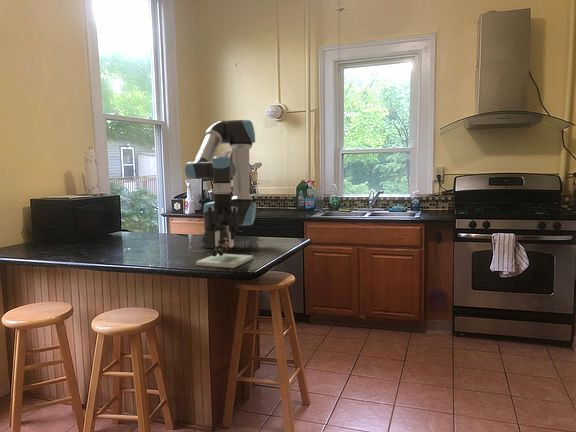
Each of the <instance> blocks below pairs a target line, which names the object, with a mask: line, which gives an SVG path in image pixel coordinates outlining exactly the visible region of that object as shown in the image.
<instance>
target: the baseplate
mask: <svg viewBox="0 0 576 432" xmlns="http://www.w3.org/2000/svg"><path fill="white" fill-rule="evenodd" d="M253 259H254V255H251V254H250V255H248V254H234V253H223V255H222V256H220V255H219V254H218V253H217V255H216V256H215V257H213V256H212V255H210V256H207V257H204V258H202V259H200V260H196V261H195V265H196V266H200V267H201V266H203V267H214V268H215V267H217V268H218V267H219V268H230V269H234V268H237V267H239V266H241V265H243V264H245V263H247V262H250V261H251V260H253Z"/></svg>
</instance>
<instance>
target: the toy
mask: <svg viewBox="0 0 576 432" xmlns="http://www.w3.org/2000/svg"><path fill="white" fill-rule="evenodd" d="M219 243H220V244H221V245H220V246H219V247H217V248H212V252H211V253H212V254H211V256H213V257H215V256H216V255H217V253H218V254H219V255H220V256H222V255H223V254H227V252H231V251H232V249H233V247H229V239H228V238H224V239H222V240H220V241H219Z"/></svg>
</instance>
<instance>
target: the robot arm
mask: <svg viewBox="0 0 576 432" xmlns="http://www.w3.org/2000/svg"><path fill="white" fill-rule="evenodd" d="M254 127H255V126H254V124H253V122H252V121H251V120H248V119H237V120H236V119H234V120H231V119H230V120H221V121H217V122H215V123H213V124H212V125H210V126H209V127H208V128H207V129H206V130H205V133H204V134H203V137H202V138H203V140H202V143H201V145H200V147H199V149H198V151H197V154H196V156H195V158H194V160H193V161H189V162H186V164H185V166H184V167H185V168H184V173H185V176H186V178H187V179H191V180H200V179H201V180H205V179H206V180H207V179H212V182H213V183H212V184H213V186H212V188H213V201H209V202H206V203H204V205H203V211H202V212H203V225H204V227H203V228H204V230H203V231H204V233H203V236H202V239H201V247H202V248H206V249H216V248H217V247H219V246H220V245H221V244H220V243H219V241H220V240H222V239H224V238H228V239H229V247H232V248H233V247H234V246H235V242H234V240H235V239H236V231H239V230H240V226H251V225H253V224H254V221H255V219H256V212H257V205H256V203H255V202H254V201H253V200H254V199H253V198H252V196H251V195H250V189H251V188H250V185H251V183H250V180H251V179H250V149H252V148H253V144H254V143H256V133H255V128H254ZM222 144H229V148H230V149H231V150H232V161H231V158H230V156H215V155H216V152H217V150H218V148H219V147H220V146H221V145H222ZM231 178H232V179H231ZM228 228H229V229H228ZM228 230H229V232H228Z"/></svg>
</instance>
